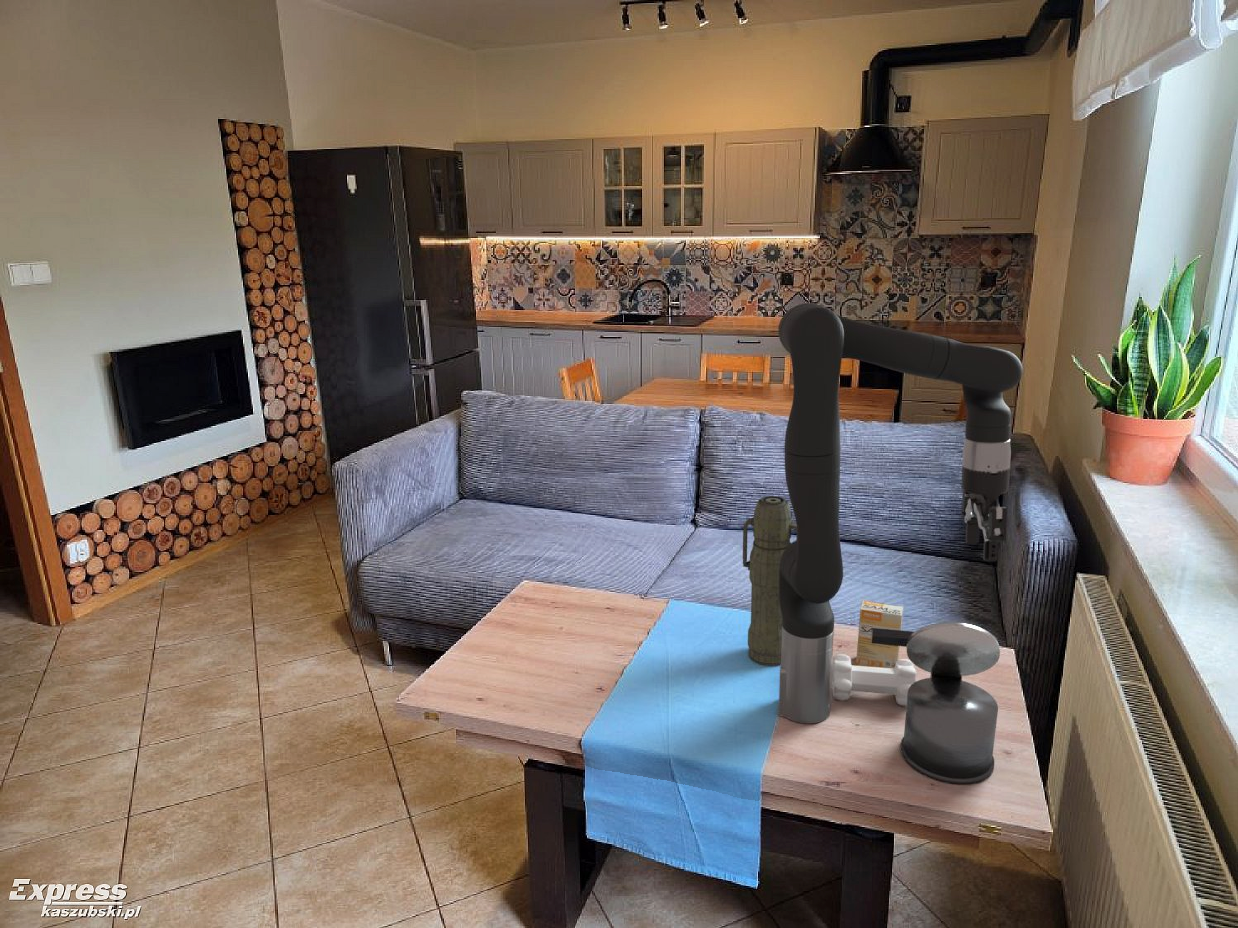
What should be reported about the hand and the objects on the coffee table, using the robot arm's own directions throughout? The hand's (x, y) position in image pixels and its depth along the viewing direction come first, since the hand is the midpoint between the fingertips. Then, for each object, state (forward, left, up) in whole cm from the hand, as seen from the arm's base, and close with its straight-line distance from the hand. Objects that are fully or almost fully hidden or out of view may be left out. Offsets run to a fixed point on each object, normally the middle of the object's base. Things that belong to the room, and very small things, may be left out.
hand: (980, 551), depth 144 cm
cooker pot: (-5, -17, -31) cm, 36 cm away
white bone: (-17, 0, -32) cm, 36 cm away
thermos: (-37, +11, -31) cm, 50 cm away
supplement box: (-15, +12, -31) cm, 37 cm away
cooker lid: (-8, -13, -14) cm, 21 cm away
